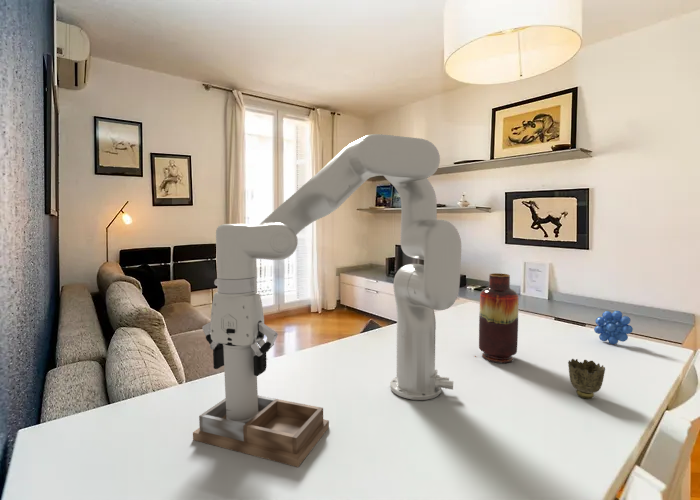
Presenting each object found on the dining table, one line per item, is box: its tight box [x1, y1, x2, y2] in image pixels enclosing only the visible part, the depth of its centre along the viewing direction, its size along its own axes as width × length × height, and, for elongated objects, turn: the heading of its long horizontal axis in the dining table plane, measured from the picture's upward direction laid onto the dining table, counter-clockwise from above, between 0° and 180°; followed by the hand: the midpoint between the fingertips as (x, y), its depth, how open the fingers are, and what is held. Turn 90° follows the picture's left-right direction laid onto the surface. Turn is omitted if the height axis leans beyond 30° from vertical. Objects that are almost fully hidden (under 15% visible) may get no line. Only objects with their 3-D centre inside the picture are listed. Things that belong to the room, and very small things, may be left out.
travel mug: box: [223, 329, 259, 424], centre depth 73 cm, size 6×7×20 cm
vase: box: [478, 272, 520, 364], centre depth 112 cm, size 11×11×26 cm
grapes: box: [594, 310, 634, 345], centre depth 125 cm, size 12×7×12 cm, turn 28°
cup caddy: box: [192, 395, 330, 468], centre depth 72 cm, size 23×13×4 cm, turn 70°
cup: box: [567, 358, 606, 400], centre depth 87 cm, size 8×7×8 cm
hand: (239, 369), depth 73 cm, fingers open, 9 cm apart
